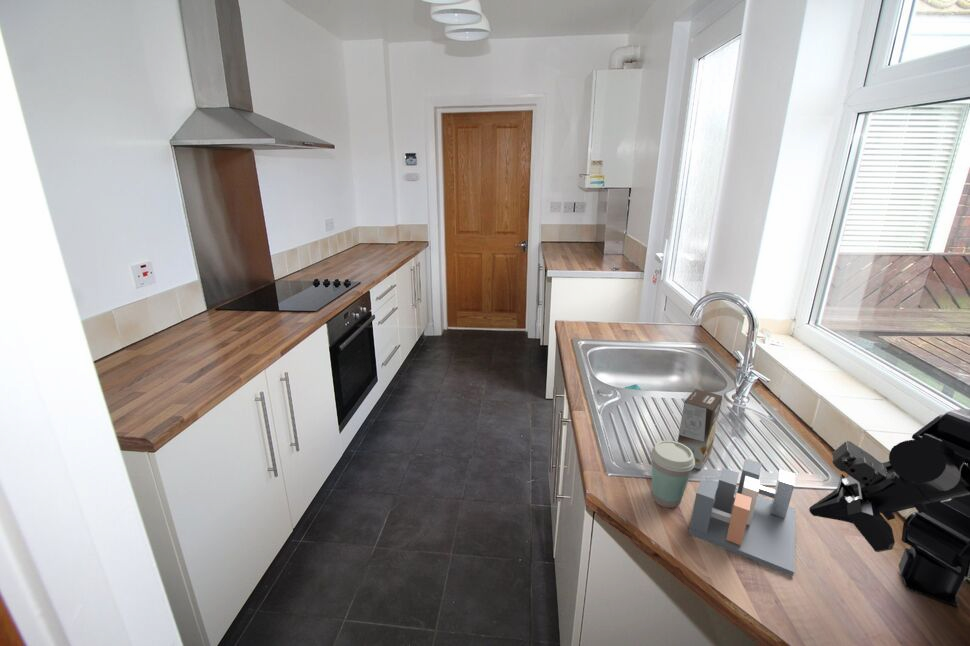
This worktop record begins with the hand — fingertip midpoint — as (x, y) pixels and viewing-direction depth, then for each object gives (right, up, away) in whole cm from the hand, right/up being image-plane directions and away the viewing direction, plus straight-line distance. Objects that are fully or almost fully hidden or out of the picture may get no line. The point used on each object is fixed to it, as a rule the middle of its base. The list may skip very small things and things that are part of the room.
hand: (810, 511), depth 76 cm
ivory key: (-6, -6, +14) cm, 16 cm away
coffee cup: (-17, -6, +20) cm, 27 cm away
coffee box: (-4, -1, +34) cm, 34 cm away
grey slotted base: (-4, -8, +13) cm, 16 cm away
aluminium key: (+2, -5, +16) cm, 17 cm away
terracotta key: (-10, -8, +10) cm, 16 cm away
